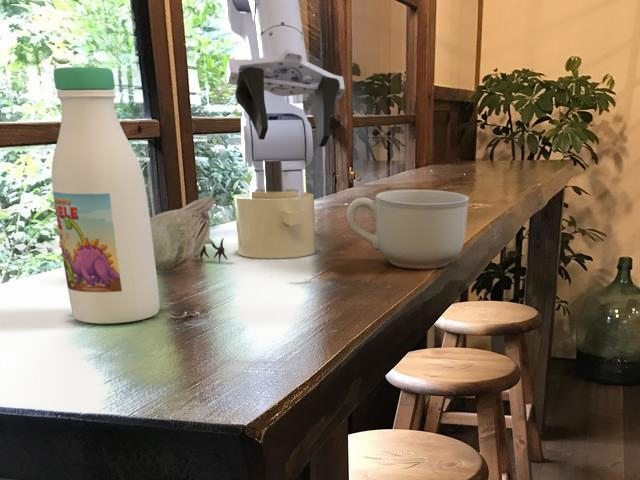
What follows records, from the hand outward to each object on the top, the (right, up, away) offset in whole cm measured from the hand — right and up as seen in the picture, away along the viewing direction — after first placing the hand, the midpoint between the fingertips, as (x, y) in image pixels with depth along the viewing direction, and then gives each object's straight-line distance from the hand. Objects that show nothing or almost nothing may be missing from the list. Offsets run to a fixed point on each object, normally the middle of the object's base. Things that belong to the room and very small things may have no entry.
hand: (294, 137), depth 98 cm
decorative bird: (-14, -18, -4) cm, 23 cm away
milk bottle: (-14, -27, -24) cm, 39 cm away
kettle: (-3, -12, +7) cm, 14 cm away
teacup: (+14, -16, -2) cm, 21 cm away
